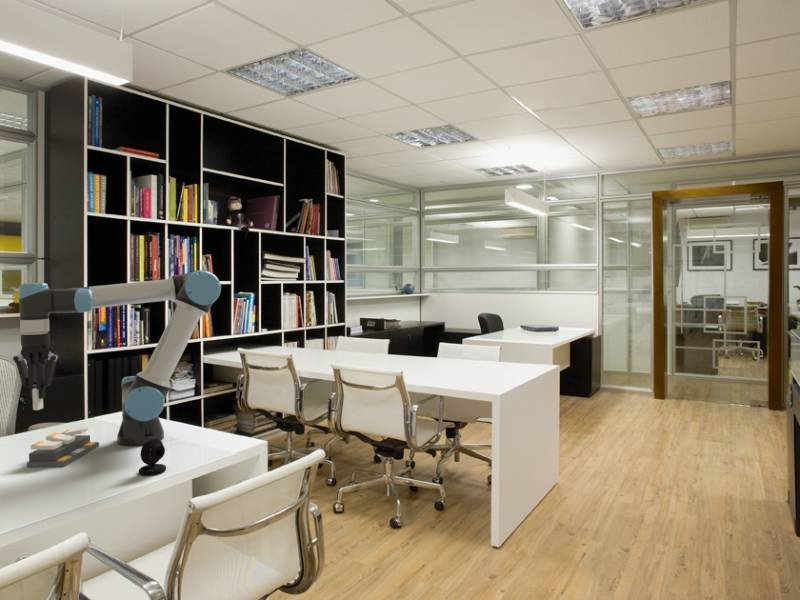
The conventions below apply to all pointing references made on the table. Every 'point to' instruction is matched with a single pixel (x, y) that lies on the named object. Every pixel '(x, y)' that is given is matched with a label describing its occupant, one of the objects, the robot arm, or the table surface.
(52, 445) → the rocker
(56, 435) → the rocker
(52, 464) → the switch panel
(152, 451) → the webcam
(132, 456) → the table surface
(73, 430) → the rocker
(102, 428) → the table surface
